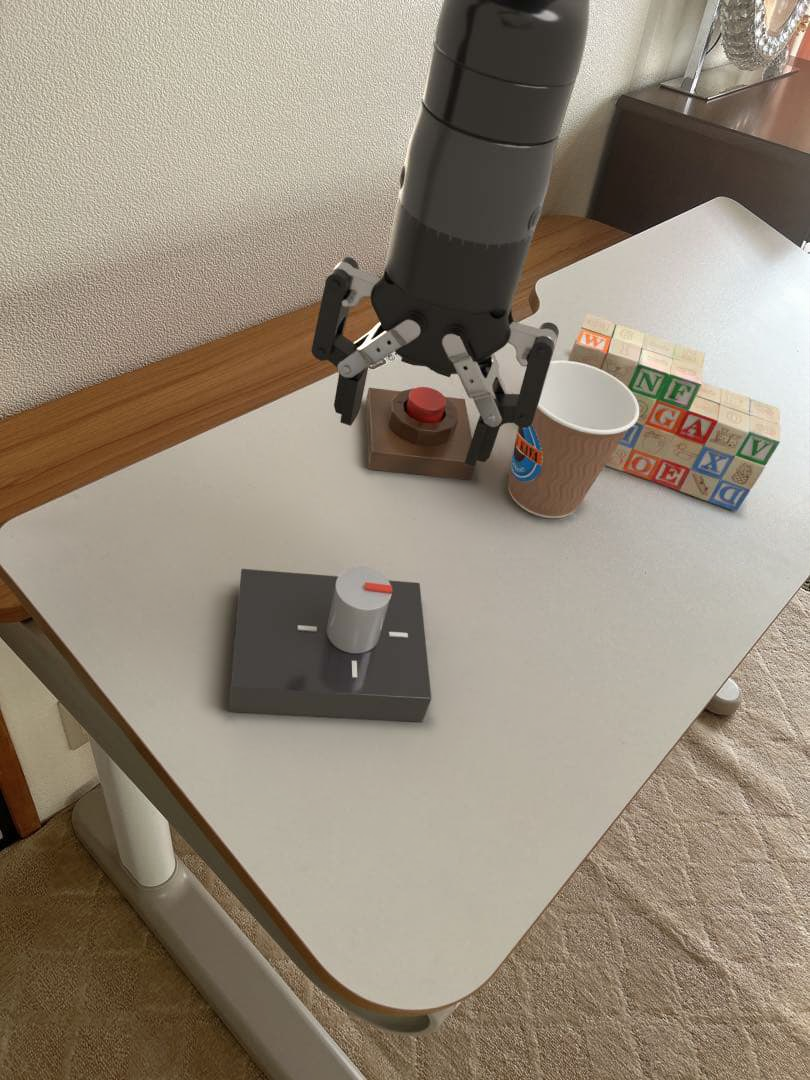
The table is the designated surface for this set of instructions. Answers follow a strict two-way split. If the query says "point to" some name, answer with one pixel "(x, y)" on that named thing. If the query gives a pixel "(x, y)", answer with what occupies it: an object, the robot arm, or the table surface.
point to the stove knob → (358, 609)
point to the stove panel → (324, 653)
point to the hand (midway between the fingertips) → (410, 438)
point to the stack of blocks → (681, 416)
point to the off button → (426, 405)
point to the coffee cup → (569, 438)
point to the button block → (416, 437)
